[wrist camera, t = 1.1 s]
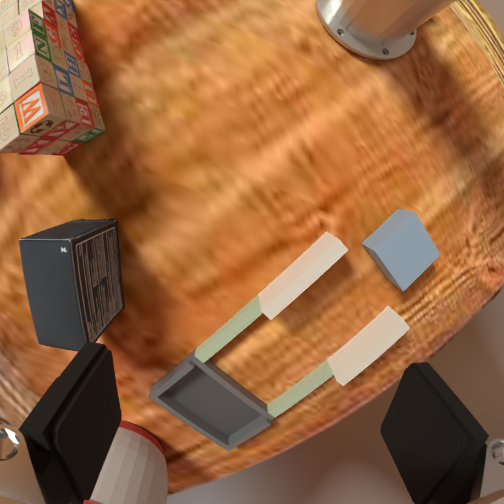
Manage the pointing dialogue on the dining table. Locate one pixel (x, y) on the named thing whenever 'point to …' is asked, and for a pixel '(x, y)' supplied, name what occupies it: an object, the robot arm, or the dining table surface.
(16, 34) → the stack of blocks
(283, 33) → the dining table surface
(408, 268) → the block
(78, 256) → the small box
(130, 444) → the citrus juicer
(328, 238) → the two-pronged grey tray
